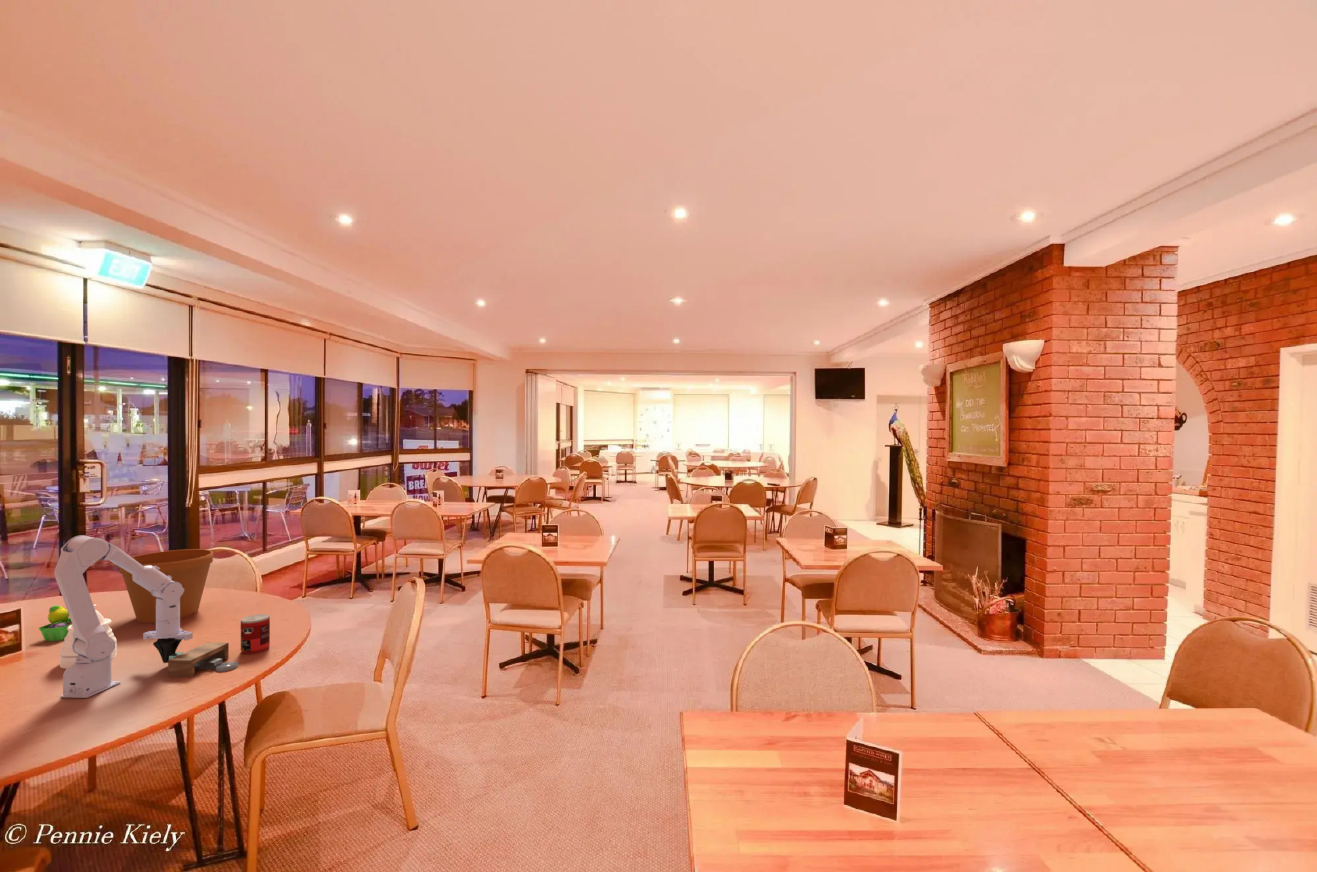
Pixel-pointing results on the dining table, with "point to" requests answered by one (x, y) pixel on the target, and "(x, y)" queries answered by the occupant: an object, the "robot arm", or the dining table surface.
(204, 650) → the wooden bridge block
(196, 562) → the flowerpot
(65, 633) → the fruit basket
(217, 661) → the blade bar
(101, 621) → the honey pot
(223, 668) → the slate coaster
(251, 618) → the canned food
